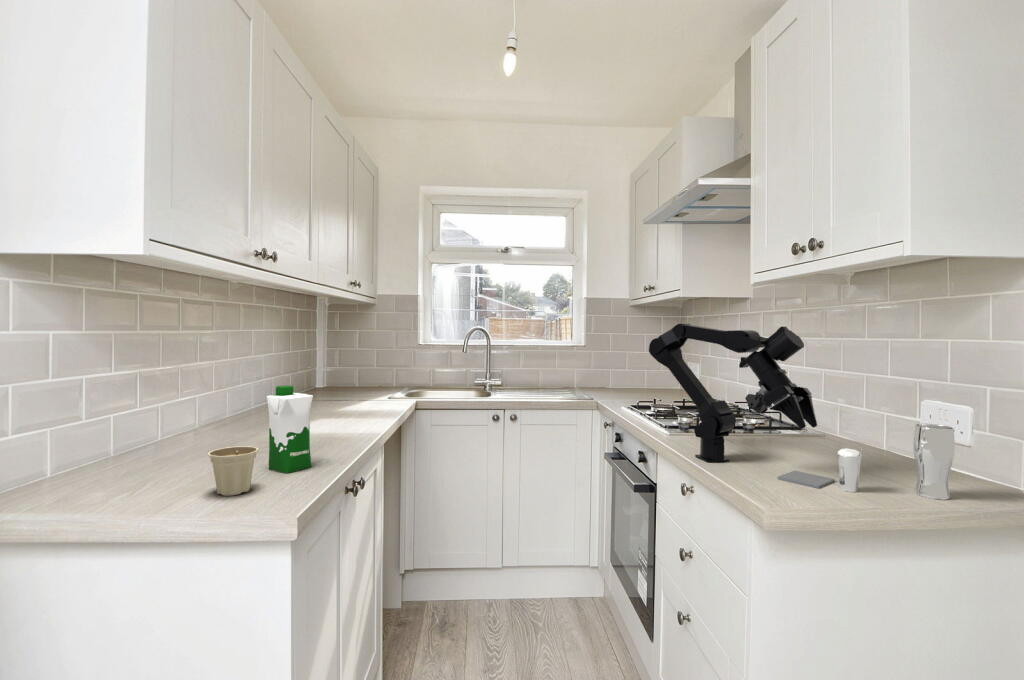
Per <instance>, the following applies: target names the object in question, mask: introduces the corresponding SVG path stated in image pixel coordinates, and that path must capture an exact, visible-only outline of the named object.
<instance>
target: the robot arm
mask: <svg viewBox="0 0 1024 680" xmlns="http://www.w3.org/2000/svg"><path fill="white" fill-rule="evenodd" d="M688 340H695V341H700V342H705V343H709V344H710V343H712V344H716V345H719V346H722V347H724V348H725V349H727V350H730V351H732V352H733V353H734V352H735V353H737V354H742V353H745V354H746V353H747V354H748V353H749V355H748V356H741V357H740V362H739V364H738V365H739V367H738V368H740V369H743V368H745V369H746V368H749V369H751V371H752V372H753V373H754V375H755V377H756V378H757V379H758V380H759V381H758V382H757V383H758V386H759V388H760V389H759V390H758V391H756V392H755V394H754V393H748V394H747V395H746V397H744V399H745V401H746V403H747V406H748V409H749V410H753V411H754V412H755V413H757V414H758V415H760V414H762V415H763V414H766V412H767V411H768V410H771V411H776V412H780V413H782V414H783V415H784V416H786V417H787V418H788V419H789V420H790V421H792V422H793V423H794V424H795V425H796V426H798V427H799V428H800V429H802V430H803V429H806V427H807V426H806V423H807V424H809V425H810V427H811V428H816V427H817V426H818V421H817V419H816V414H815V409H814V403H813V397H812V393H811V391H810V390H809V388H808V387H803V386H798V385H797V384H796V383H793V382H792V381H791V379H790V378H789V377H788V375H787V374H788V373H787V371H786V370H785V369H783V368H782V367H781V366H780V365H779V364H778V362H779V361H780V362H786V360H788V359H790V358H791V357H793V356H794V355H795V354H796V353H797V352H800V350H802V349H804V347H805V344H804V341H803V340H802V338H801V337H800V336H799V335H797V334H796V333H795V332H793V331H792V330H790V329H789V328H788V327H787V326H785V325H784V326H780V327H778V329H777V330H776V331H774V333H773V334H771V335H770V336H769V337H764V336H761V335H760V334H759V332H757V331H755V330H751V329H750V330H749V329H748V330H746V329H744V330H742V329H741V330H740V329H739V330H723V329H717V328H711V327H707V326H700V325H699V326H698V325H693V324H691V323H677V324H676V325H674V326H673V327H672V328H671V329H669V330H668V331H665V332H664V333H662V334H660V335H659V336H658V337H656V338H653V339H651V341H650V342H649V346H648V352H649V354H650V356H651V357H652V358H653V359H654V360H656V361H657V362H658V363H660V364H661V365H663V366H664V367H666V369H668V370H669V371H670V373H671V374H672V375H673V376H674V378H675V379H676V381H677V382H678V384H679V385H680V386H681V387H682V389H683V390H684V392H685V393H686V394H687V395H688V397H689V398H690V400H691V401H692V402H693V403H694V405H695V407H696V408H697V411H698V418H699V419H700V423H699V424H698V425H696V427H695V428H694V429H693V430H694V431H693V432H694V435H695V437H696V438H700V442H699V444H700V449H699V450H700V451H699V454H694V455H695V456H694V457H695V458H698V459H700V460H702V461H704V462H706V463H716V462H718V463H719V462H720V463H721V462H729V461H730V459H729V458H727V457H725V438H724V437H729V435H730V432H731V431H732V430H733V429H734V428H735V426H736V416H735V414H734V413H735V411H734V410H732V409H731V408H730V406H729V405H728V403H727V401H726V400H725V399H722V400H716V399H714V397H712V395H711V394H710V392H709V391H708V390H707V389H706V387H705V386H704V385H703V384H702V382H701V381H700V379H699V378H698V377H697V376H696V374H695V373H694V372H693V370H692V369H691V368H690V367H689V365H688V364H687V363H686V361H685V360H684V358H683V352H682V350H681V349H682V347H684V346H685V344H686V342H687V341H688ZM761 348H762V349H761ZM759 349H761V350H759ZM758 350H759V351H758ZM777 361H778V362H777Z"/></svg>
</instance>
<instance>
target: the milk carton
mask: <svg viewBox="0 0 1024 680" xmlns="http://www.w3.org/2000/svg"><path fill="white" fill-rule="evenodd" d="M313 398H314V395H312V394H307V393H299V392H294V386H293V385H277V386H276V387H275V394H271V395H267V396H266V402H267V409H268V416H269V417H268V420H269V421H268V424H269V427H268V430H269V431H268V432H269V434H268V435H269V437H268V439H269V440H268V441H269V442H268V445H269V446H268V447H269V448H268V450H269V452H268V470H271V471H276V472H279V473H284V474H290V473H295V472H297V471H302V470H305V469H309V468H312V458H311V445H310V444H311V441H310V438H311V437H310V435H311V434H310V432H311V431H310V429H311V428H310V427H311V426H310V424H311V423H310V422H311V421H310V419H311V418H310V417H311V416H310V414H311V412H310V411H311V406H312V403H313Z"/></svg>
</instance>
